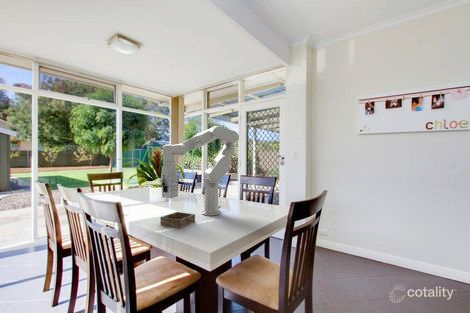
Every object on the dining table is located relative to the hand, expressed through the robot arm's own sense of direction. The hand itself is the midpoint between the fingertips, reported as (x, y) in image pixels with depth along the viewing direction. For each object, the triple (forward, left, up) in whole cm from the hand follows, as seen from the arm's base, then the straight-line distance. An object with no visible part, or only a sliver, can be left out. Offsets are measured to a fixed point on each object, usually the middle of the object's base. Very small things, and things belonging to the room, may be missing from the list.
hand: (170, 191), depth 142 cm
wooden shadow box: (+6, +13, -17) cm, 22 cm away
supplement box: (0, 0, -4) cm, 4 cm away
